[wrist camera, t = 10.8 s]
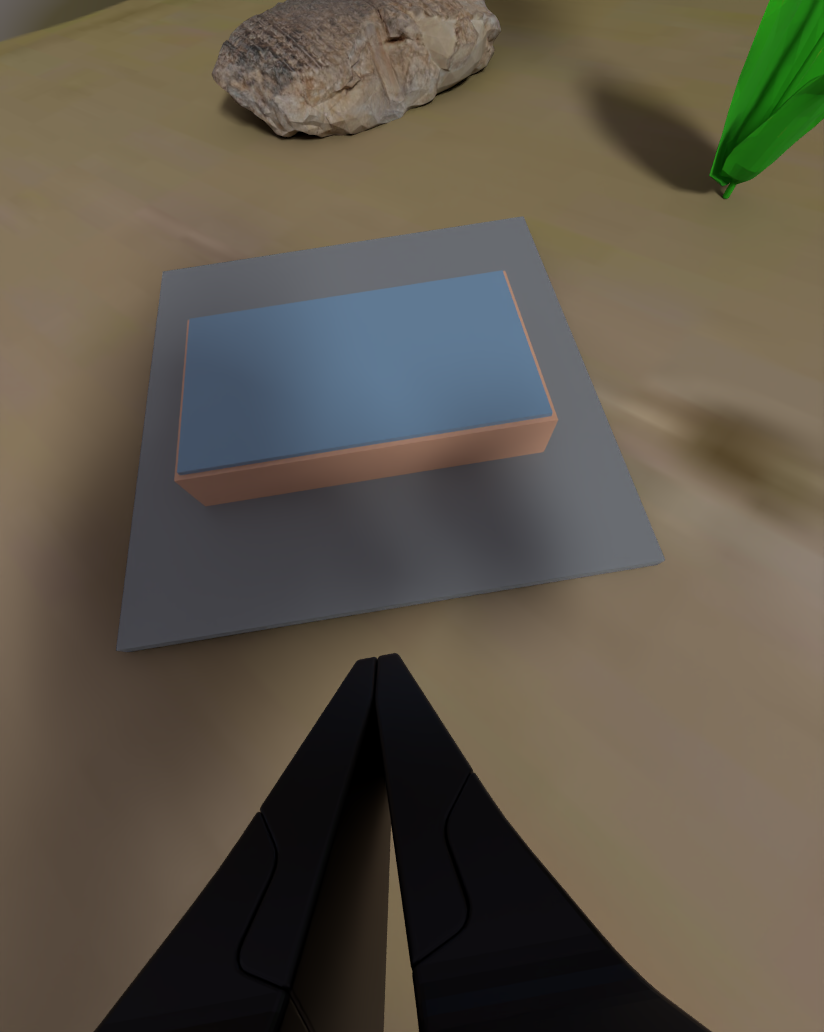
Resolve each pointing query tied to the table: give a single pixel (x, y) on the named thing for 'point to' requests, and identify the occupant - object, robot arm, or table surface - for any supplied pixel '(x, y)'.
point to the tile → (358, 389)
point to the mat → (379, 502)
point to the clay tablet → (352, 60)
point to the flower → (774, 92)
